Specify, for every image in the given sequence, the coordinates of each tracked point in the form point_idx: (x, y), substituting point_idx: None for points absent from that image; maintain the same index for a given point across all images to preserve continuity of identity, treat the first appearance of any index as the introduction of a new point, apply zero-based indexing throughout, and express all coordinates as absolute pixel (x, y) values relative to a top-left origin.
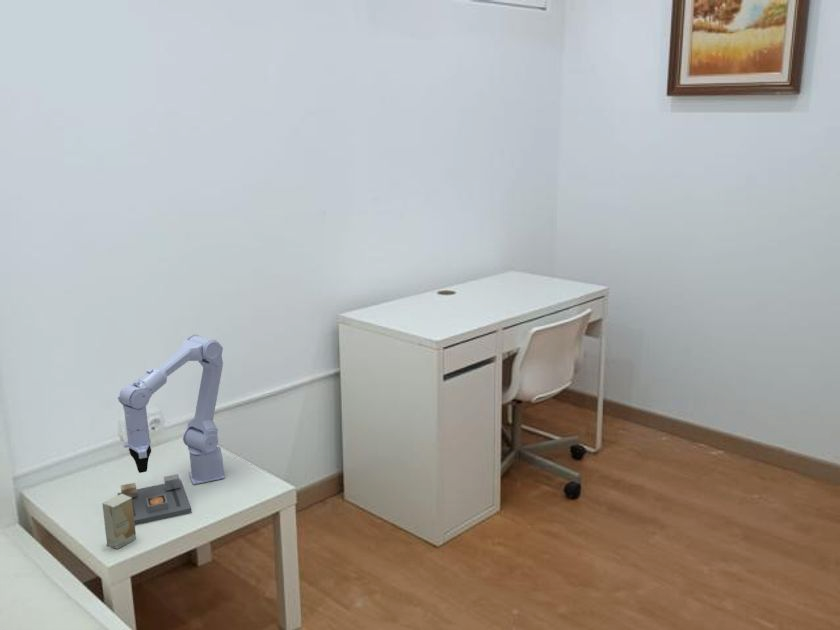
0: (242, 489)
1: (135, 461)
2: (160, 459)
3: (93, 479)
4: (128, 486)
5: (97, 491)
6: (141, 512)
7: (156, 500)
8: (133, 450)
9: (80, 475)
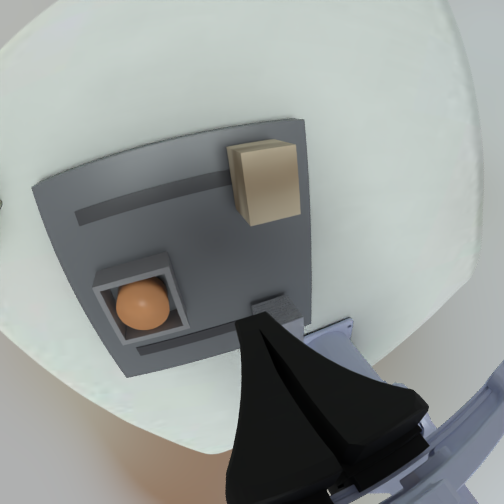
0: (227, 420)
1: (240, 408)
2: (441, 234)
3: (424, 63)
4: (270, 186)
5: (362, 55)
6: (103, 243)
7: (141, 309)
8: (322, 485)
9: (444, 42)
